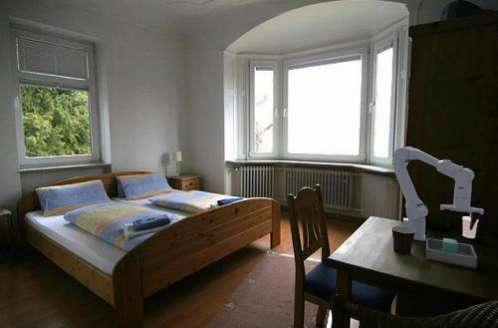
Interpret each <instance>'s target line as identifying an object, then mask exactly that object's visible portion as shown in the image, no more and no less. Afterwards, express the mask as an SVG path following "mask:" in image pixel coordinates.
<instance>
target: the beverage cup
mask: <svg viewBox="0 0 498 328" xmlns="http://www.w3.org/2000/svg"><path fill="white" fill-rule="evenodd" d="M461 218H462V236H463V237H465V238H467V239H475V238H476V234H477V229H478V228H477V227H478V223H479V219H480V218H479V219H478V220H477V221H476V223H475V224H474V227H473V230H470V222H471V213H469V216H467V215H466V216H462V217H461Z"/></svg>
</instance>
